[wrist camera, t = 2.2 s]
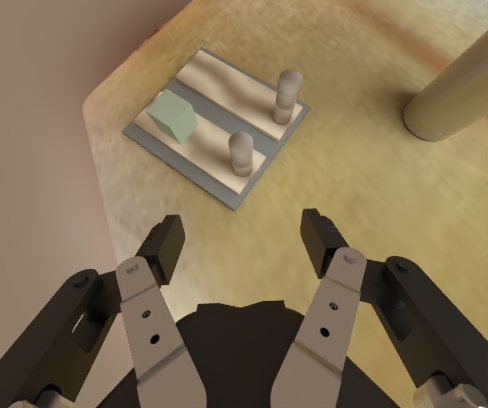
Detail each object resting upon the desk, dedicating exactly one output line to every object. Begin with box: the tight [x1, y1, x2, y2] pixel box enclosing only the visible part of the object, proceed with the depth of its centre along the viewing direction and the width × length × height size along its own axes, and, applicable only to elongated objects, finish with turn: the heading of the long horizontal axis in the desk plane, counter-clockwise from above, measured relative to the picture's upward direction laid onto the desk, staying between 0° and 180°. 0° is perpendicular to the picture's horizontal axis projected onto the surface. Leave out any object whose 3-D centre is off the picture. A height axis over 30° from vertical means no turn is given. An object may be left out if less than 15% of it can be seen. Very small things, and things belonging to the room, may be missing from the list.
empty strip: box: [175, 50, 303, 142], centre depth 33 cm, size 8×24×9 cm, turn 55°
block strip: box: [132, 91, 266, 195], centre depth 30 cm, size 8×24×9 cm, turn 54°
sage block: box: [146, 89, 199, 145], centre depth 32 cm, size 5×5×5 cm
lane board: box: [122, 47, 310, 211], centre depth 36 cm, size 24×26×1 cm
